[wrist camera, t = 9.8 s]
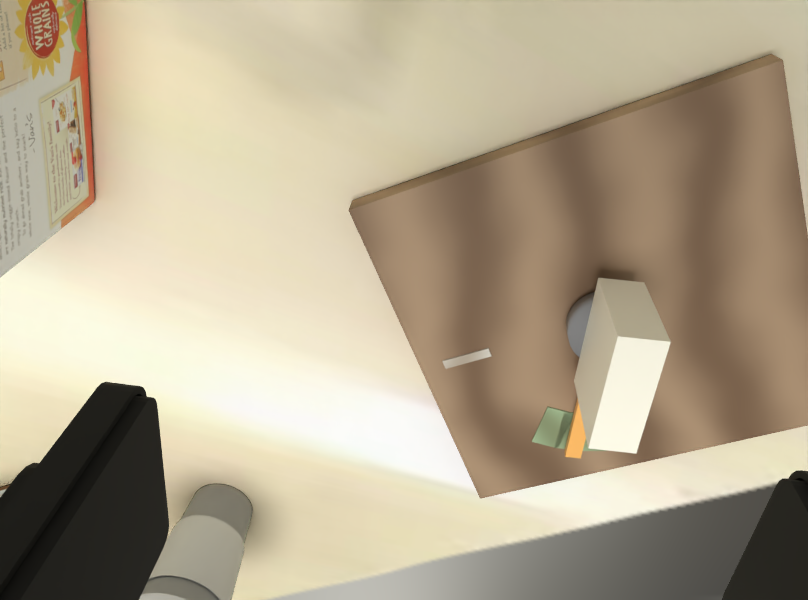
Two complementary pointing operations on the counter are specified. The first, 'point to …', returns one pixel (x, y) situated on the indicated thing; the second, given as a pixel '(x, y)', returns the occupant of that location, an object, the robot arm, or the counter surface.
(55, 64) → the cracker box
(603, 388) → the knob
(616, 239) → the dial board
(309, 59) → the counter surface
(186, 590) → the cup
